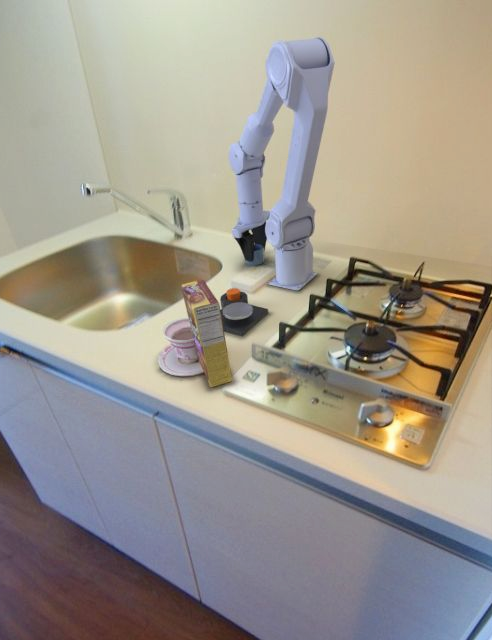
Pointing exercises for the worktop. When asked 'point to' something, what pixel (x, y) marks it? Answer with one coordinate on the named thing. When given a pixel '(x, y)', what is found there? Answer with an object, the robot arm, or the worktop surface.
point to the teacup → (179, 349)
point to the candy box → (207, 331)
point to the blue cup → (257, 255)
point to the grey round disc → (237, 310)
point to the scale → (241, 325)
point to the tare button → (233, 294)
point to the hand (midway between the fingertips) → (254, 256)
